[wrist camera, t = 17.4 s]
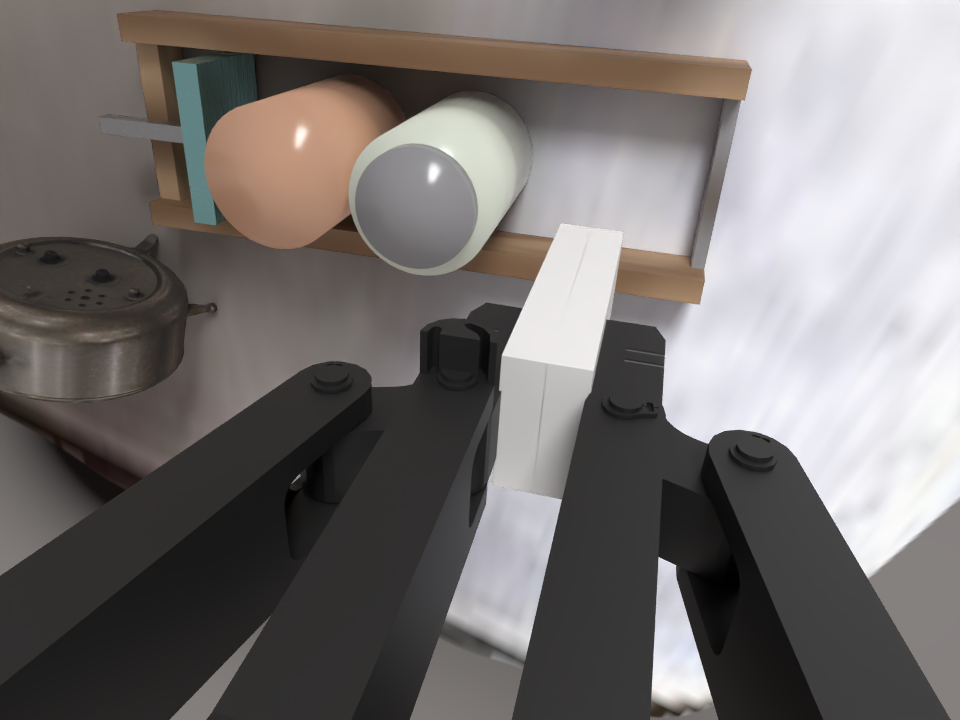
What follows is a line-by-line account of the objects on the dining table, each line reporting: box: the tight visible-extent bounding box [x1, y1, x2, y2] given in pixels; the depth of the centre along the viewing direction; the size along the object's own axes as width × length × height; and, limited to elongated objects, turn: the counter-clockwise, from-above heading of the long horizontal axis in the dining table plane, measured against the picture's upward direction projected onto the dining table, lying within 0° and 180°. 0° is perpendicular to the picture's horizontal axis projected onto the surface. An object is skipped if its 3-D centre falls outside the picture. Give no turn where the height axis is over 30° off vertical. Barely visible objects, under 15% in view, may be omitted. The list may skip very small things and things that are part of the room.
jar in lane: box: [204, 74, 406, 249], centre depth 34 cm, size 6×6×9 cm
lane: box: [117, 10, 752, 304], centre depth 36 cm, size 10×29×3 cm, turn 86°
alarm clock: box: [0, 234, 217, 403], centre depth 38 cm, size 11×5×16 cm, turn 74°
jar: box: [349, 91, 533, 276], centre depth 33 cm, size 6×6×10 cm
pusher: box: [98, 51, 258, 225], centre depth 37 cm, size 7×7×5 cm
